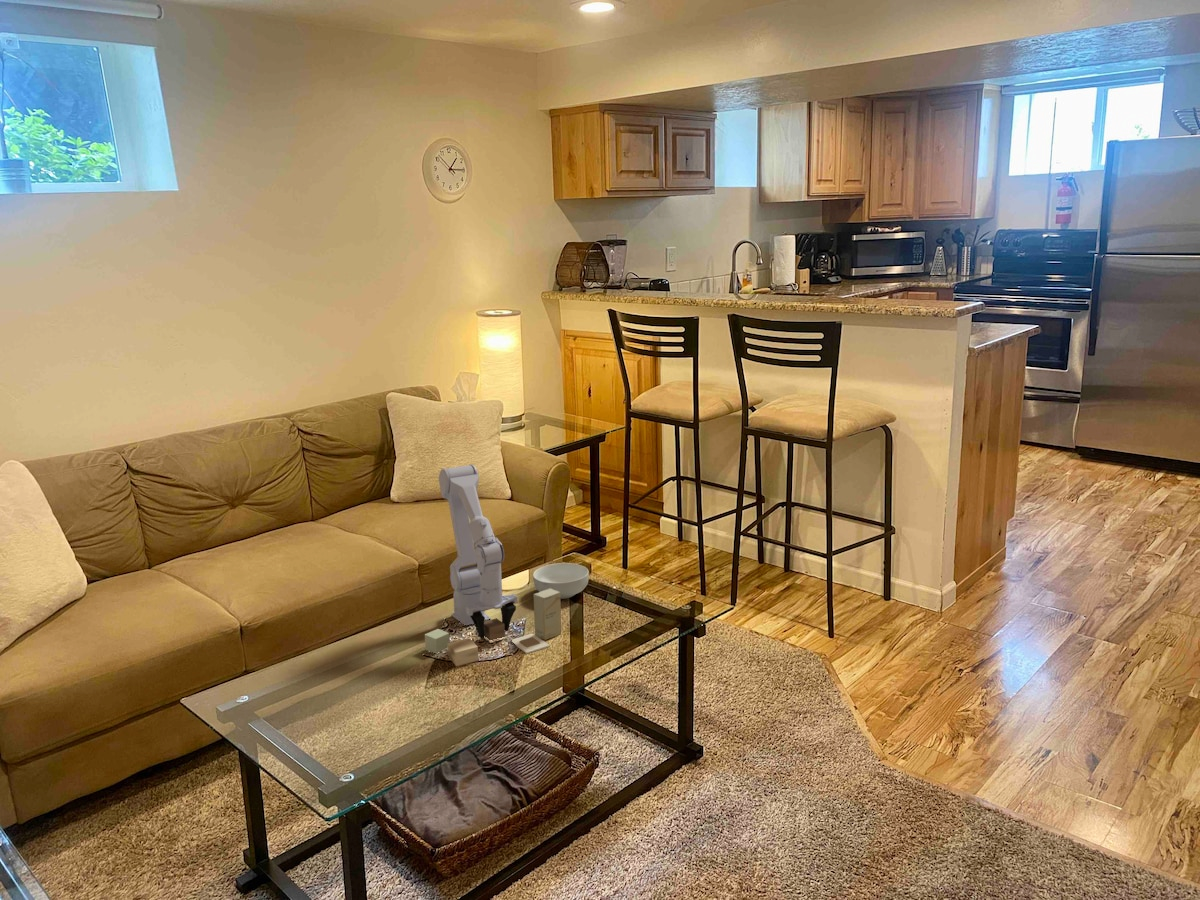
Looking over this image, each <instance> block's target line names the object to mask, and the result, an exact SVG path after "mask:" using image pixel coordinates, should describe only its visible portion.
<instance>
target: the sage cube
mask: <svg viewBox="0 0 1200 900" xmlns="http://www.w3.org/2000/svg"><path fill="white" fill-rule="evenodd" d="M424 642H425V643H424V645H425V651H427V650H428V651H427V652H429V651H431V652H430V653H432V652H433V653H432V654H434V653H436V654H437V653H438V652H440V651H442V650H443V649H445V648H447V644H448V643H451V641H450V633H449V632H447V631H445V630H442V629H439V628H436V629H434V630H431V631H429V632H427V633H425V634H424ZM436 654H435V655H436ZM437 655H438V654H437Z"/></svg>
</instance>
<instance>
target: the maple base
mask: <svg viewBox="0 0 1200 900" xmlns="http://www.w3.org/2000/svg"><path fill="white" fill-rule="evenodd" d="M447 647H448V650H447V657H448V656H449V657H448V659H449V658H450V659H451V660H452V661H451V660H450V659H449V660H450V661H451V662H452V663H453V665H455V666H456V667H460V666H463V665H466V664H470V663H475V662H478V660H479V658H480V657H479V647H478V645H477V644H476V643H475V642H474V641H473V640H472V639H471V638H470V637H469V638H463V639H460V640H456V641H452V642H450V643H448V644H447Z"/></svg>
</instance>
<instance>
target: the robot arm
mask: <svg viewBox="0 0 1200 900" xmlns="http://www.w3.org/2000/svg"><path fill="white" fill-rule="evenodd" d="M438 473H439V474H438V482H439V489H440V494H441V497H442V498H443V499H446V500H447V503H448V506H449V512H450V517H451V524H452V529H453V535H454V541H455V547H456V552H457V556H456V558H455V560H453V562H452V563H451V564H450V566H449V570H450V571H449V573H450V576H449V578H450V584H451V587H452V589H453V590H454V591H453V595H452V597H453V610H454V612H453V613H451V616H452V617H453V618H454V619H455V620H457V621H458V622H459V621H460V622H459V623H461V624H462V623H463V624H464V625H463V624H462V625H463V626H465V625H469V624H472V625H474V626H475V629H476V632H477V636H478V637H479V638H480V639H484V622H485V620H486V621H489V619H490V620H492V617H491V616H489V615H488V614H486V612H485V611H489V610H493V609H494V610H500V613H501V622H502V623H504V626H505V632H509V630H510V625H511V621H512V617H513V616H514V614H515V612H516V610H517V606H516V605H515V604H518V596H517V595H516V594H514V593H512V594H509V595H503V585H502V584H503V582H502V579H503V578H502V563H503V562H504V560H505V550H504V547H503V544H502V541H500V540H499V538H498V537H496V536H495V534H494V530H493V528H492V525H491V522H490V520H489V518H487V517H485V516H484V515H483V511H482V507H481V503H480V499H479V495H478V491H477V490H478V487H479V481H480V475H479V471H478V468H477V467H476V466H475V465H474V464H472V463H470V464H467V465H462V466H456V467H450V468H449V467H448V468H442V469H441V470H440V471H439V472H438ZM469 626H470V625H469Z"/></svg>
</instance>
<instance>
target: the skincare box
mask: <svg viewBox="0 0 1200 900" xmlns="http://www.w3.org/2000/svg"><path fill="white" fill-rule="evenodd" d="M561 604H562V603H561V599H560V592H559V591H556V590H554V589H551V588H549V589H547V590H544V591H541V592H539V591H538V592H536V593H533V613H534V616H533V617H534V618H533V619H534V635H536V636H537V637H539V638H540V639H541V640H543V641H546V640H549V639H551V638H554V637H556V636H560V635H561V634H562V609H561V608H562V607H561V606H562V605H561Z"/></svg>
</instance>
